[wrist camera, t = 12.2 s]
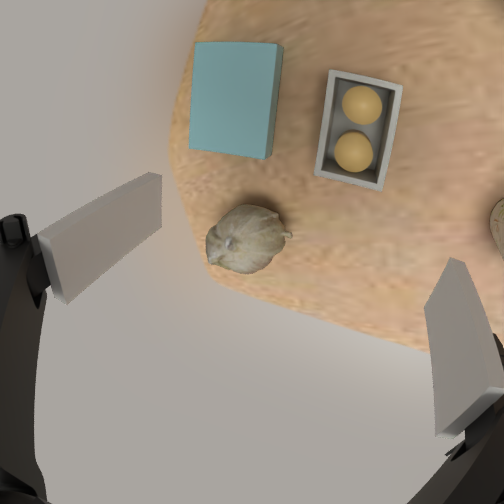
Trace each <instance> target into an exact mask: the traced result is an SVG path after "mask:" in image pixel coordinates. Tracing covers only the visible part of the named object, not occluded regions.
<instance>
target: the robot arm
mask: <svg viewBox="0 0 504 504" xmlns="http://www.w3.org/2000/svg"><path fill="white" fill-rule="evenodd" d="M161 192H162V175H159V174H155V173H150V172H148V173H146V174H144V175H142V176H140V177H138V178H136V179H134V180H132V181H130V182H128V183H126V184H124V185H122V186H120V187H118V188H116V189H114V190H112V191H110V192H108V193H107V194H105V195H103V196H101V197H99V198H97V199H95V200H93V201H92V202H90V203H88V204H86V205H84V206H83V207H81V208H79V209H77V210H75V211H74V212H72V213H70V214H69V215H67V216H65V217H63V218H62V219H60V220H59V221H57V222H55V223H54V224H52V225H50V226H49V227H47V228H45V229H44V230H42V231H40V232H39V233H37V234H36V235H34V236H33V237H30V233H29V228H28V224H27V219H26V216H25V215H23V214H13V215H9V216H6V217H4V218H2V219H1V220H0V504H51V503H49V502H47V496H46V489H45V483H44V478H43V476H42V472H41V471H40V469H39V467H38V465H37V462H36V459H35V449H34V400H35V381H36V369H37V359H38V350H39V342H40V335H41V328H42V322H43V316H44V310H45V305H46V300H47V293H46V291H45V289H46V288H47V287H49V286H50V285H51V288H52V291H53V294H54V297H55V298H56V299H58V300H60V301H61V302H63V303H64V304H66V305H67V304H69V303H70V302H71V301H72V300H73V299H74V298H75V297H77V296H78V295H79V294H80V293H81V292H82V291H84V290H85V289H86V288H87V287H88V286H89V285H91V284H92V283H93V282H94V281H95V280H96V279H98V278H99V277H100V276H101V275H102V274H104V273H105V272H106V271H107V270H108V269H109V268H111V267H112V266H113V265H114V264H116V263H117V262H118V261H119V260H120V259H122V258H123V257H124V256H125V255H127V254H128V253H129V252H130V251H132V250H133V249H134V248H135V247H137V246H138V245H139V244H140V243H142V242H143V241H144V240H146V239H147V238H148V237H149V236H151V235H152V234H153V233H155V232H156V231H157V230H158V229H160V228H161V227H162V226H161V225H162V224H161V195H162V193H161ZM424 311H425V317H426V324H427V331H428V338H429V346H430V354H431V364H432V375H433V388H434V405H435V437H440V438H448V439H454V438H455V437H456V436H457V435H459V434H460V433H461V432H462V431H463V430H465V440H463V441H462V442H461V443H460V444H458V445H457V446H455V447H454V448H453V449H451V450H450V451H449V452H447V453H446V454H445V455H446V456H448V455H450V454H451V453H452V454H451V455H450V456H449V457H448V459H447V460H446V461H445V462H444V464H443V465H442V466H441V467H440V469H439V470H438V471H437V472H436V473H435V474H434V475H433V477H432V478H431V479H430V480H429V481H428V482H427V483H426V484H425V485H424V487H423V488H422V489H421V490H420V491H419V492H418V493H417V494H416V495H415V496H414V497H413V498H412V499H411V500H410V501H409V502H408V503H407V504H504V348H503V345H502V343H501V342H500V340H499V339H498V337H497V336H496V334H494V333H492V330H491V327H490V324H489V322H488V319H487V316H486V313H485V311H484V308H483V305H482V303H481V300H480V298H479V295H478V293H477V290H476V288H475V285H474V283H473V281H472V278H471V276H470V274H469V272H468V269H467V267H466V265H465V263H464V262H462V261H459V260H456V259H454V258H451V257H450V259H449V261H448V263H447V265H446V267H445V269H444V271H443V273H442V275H441V277H440V279H439V281H438V283H437V284H436V286H435V288H434V290H433V292H432V294H431V296H430V297H429V299H428V301H427V303H426V305H425V306H424Z"/></svg>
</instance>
